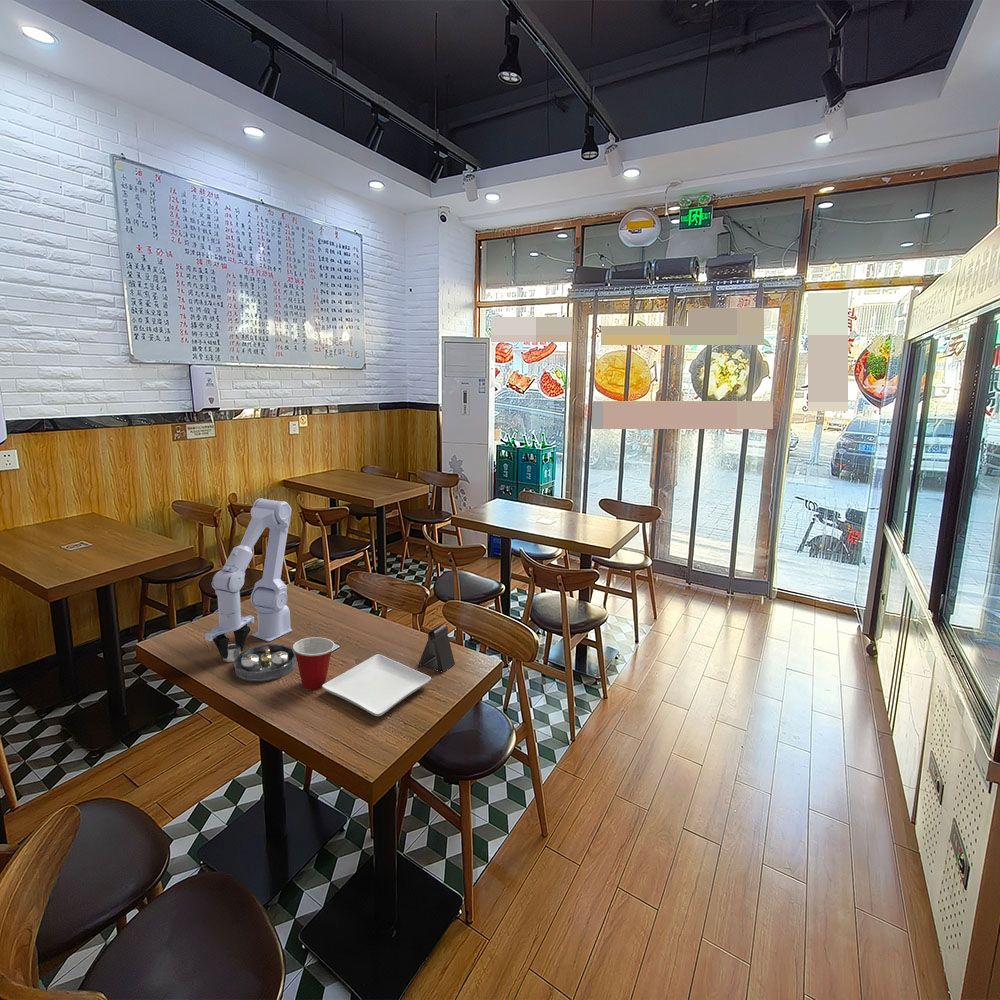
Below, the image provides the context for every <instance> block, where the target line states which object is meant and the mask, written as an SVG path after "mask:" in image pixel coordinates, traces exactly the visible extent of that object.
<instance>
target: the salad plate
mask: <svg viewBox="0 0 1000 1000" xmlns="http://www.w3.org/2000/svg"><path fill="white" fill-rule="evenodd" d="M431 680H432V677H431V676H430V675H427V674H425V673H424V672H420V671H418V670H417V669H414V668H412V667H409V666H407V665H404V664H403V663H401V662H398V661H397V660H394V659H391V658H389V657H387V656H384V655H382V654H377V653H376V654H375V655H372V656H371V657H369V658H367V659H365V660H364V661H362V662H361V663H359V664H356V666H353V667H351V668H350V669H348V670H346V671H345V672H343V673H341V674H339V675H338V676H336V677H333V678H332V679H330V680H328V681H327V682H325V684H323V685H322V688H323V689H324V690H325V691H326V693H329V694H331V695H334V696H336V697H338V698H341V699H342V700H345V701H347V702H348V703H350V704H352V705H354V706H357V707H358V708H361V709H362V710H364V711H365V712H367V713H369V714H370V715H372V716H375V717H380V716H382V715H384V714H385V713H387V712H388V711H390V709H392V708H393V707H395V706H397V705H398V704H400V703H401V702H402V701H403V700H405V699H406V698H408V697H409V696H410V695H412V694H414V693H415V692H417V691H418V690H420V689H421V688H423V687H424V686H426V685H427V684H428V683H429V682H430V681H431Z"/></svg>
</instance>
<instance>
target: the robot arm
mask: <svg viewBox="0 0 1000 1000" xmlns="http://www.w3.org/2000/svg"><path fill="white" fill-rule="evenodd" d="M292 509H293V508H292V507H291V505H290V504H289V503H288V502H287V501H284V500H283V501H280V500H272V499H266V498H262V497H260V498H257V499H256V500H255V501H254V502H253V505H252V507H251V509H250V516H251V518H250V521H249V523H248V526H247V528H246V530H245V532H244V535H243V537H242V539H241V542H240V544H239V545H237V546H235V547H233V549H232V550H231V552H230V554H229V555H228V557H227V559H226V561H225V563H224V565H223V567H222V569H221V570H219V571H217V572H216V573H215V574H214V575H213V577H212V582H211V587H212V588H213V590H214V591H215V595H216V596H217V608H218V610H217V611H218V625H216V626H215V627H214V628H212V629H210V630H209V631H207V632H206V633H204V639H205V641H207V642H212V641H213V643H214V644H215V646H216V647H217V651H219V655H220V658H225V659H226V658H228V645H229V644H230V643H229V642H230V638H229V637H227V636H226V635H225V634H227V633H232V632H233V636H234V642H235V643H234V644H239V645H240V647H241V652H244V651H243V650H244V645H245V642H246V639H247V637H248V635H249V633H250V631H251V626H248V625H250V624H251V625H252V624H254V623H255V616H253V615H251V614H250V615H246V616H242V611H241V608H242V607H241V592H240V590H242V588H243V586H244V584H245V576H246V570H247V568H248V566H249V564H251V563H250V562H251V560H252V559H253V557H254V554H253V553H254V552H253V551H252V550H253V548H254V547H255V545H256V543H257V542H258V540H259V539H260V537H261V535H262V534H263V532H264V530H265V529H266V528H268V529H269V533H268V539H267V547H266V552H265V558H264V565H263V572H262V576H261V577H262V578H261V579H259V580H258V581H256V582H255V583H254V586H253V589H252V591H251V593H250V594H251V595H250V603H251V604H252V605H253V606H254V609H255V610H256V612H257V615H256V616H257V617H256V618H257V631H256V632H254V633H252V634H251V636H253V637H255V638H257V639H261V640H263V641H265V642H268V643H269V642H271V641H273V640H276V639H278V638H279V637H282V636H284V635H286V634H288V633H290V632H293V629H292V628H291V611H290V608H289V606H288V605H287V603H288V594H287V593H288V592H287V590H288V586H287V585H286V584H285V582H284V581H283V580H282V579H281V578H282V571H283V563H284V559H285V552H286V545H287V539H288V532H289V527H290V523H291V516H292Z"/></svg>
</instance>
